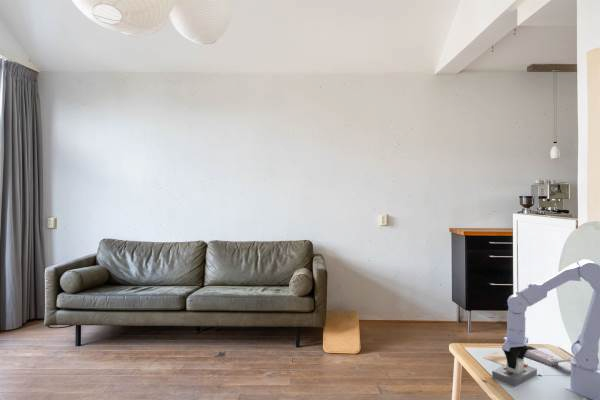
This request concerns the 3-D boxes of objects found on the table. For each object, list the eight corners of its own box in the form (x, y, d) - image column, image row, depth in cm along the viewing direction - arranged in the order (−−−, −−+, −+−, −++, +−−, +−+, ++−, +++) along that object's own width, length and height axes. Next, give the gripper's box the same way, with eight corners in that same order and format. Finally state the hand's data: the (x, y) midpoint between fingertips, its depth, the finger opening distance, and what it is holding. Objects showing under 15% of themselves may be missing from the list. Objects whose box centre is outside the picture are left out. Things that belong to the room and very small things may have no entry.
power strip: (514, 368, 145) (514, 359, 145) (536, 377, 138) (537, 367, 138) (492, 379, 136) (492, 369, 136) (515, 389, 129) (515, 378, 129)
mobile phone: (570, 360, 139) (509, 336, 162) (570, 376, 139) (508, 349, 162) (581, 357, 142) (519, 334, 165) (580, 373, 142) (518, 348, 165)
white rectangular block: (523, 376, 137) (523, 359, 136) (517, 379, 134) (518, 362, 134) (512, 372, 140) (512, 355, 140) (506, 374, 138) (506, 358, 138)
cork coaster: (519, 362, 150) (519, 360, 150) (507, 367, 144) (507, 366, 144) (495, 353, 158) (495, 352, 158) (483, 358, 152) (483, 357, 152)
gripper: (514, 322, 144) (513, 357, 144) (494, 329, 136) (493, 366, 136) (534, 327, 139) (533, 364, 139) (514, 335, 130) (513, 374, 130)
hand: (515, 366), depth 137 cm, fingers closed on white rectangular block, 4 cm apart
